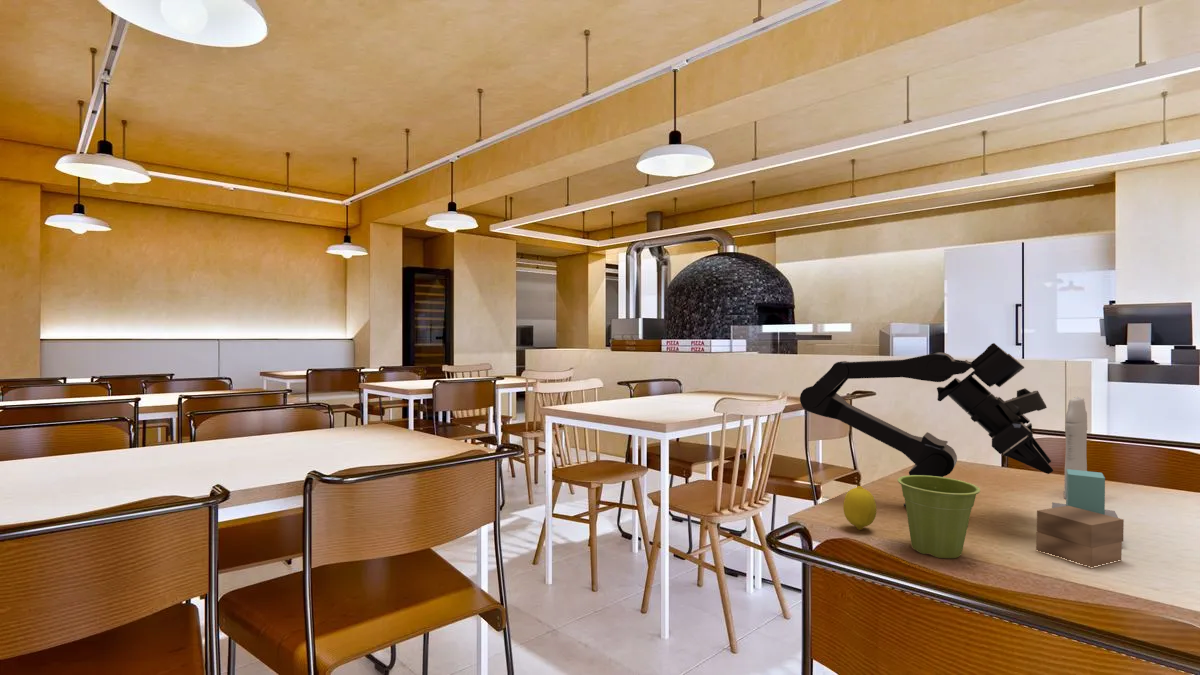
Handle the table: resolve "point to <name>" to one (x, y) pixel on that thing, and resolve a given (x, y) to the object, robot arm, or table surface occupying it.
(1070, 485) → the teal block
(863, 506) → the lemon
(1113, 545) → the tower lower
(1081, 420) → the tall pale column
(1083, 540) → the tower upper
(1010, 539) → the table surface
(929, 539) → the plant pot
